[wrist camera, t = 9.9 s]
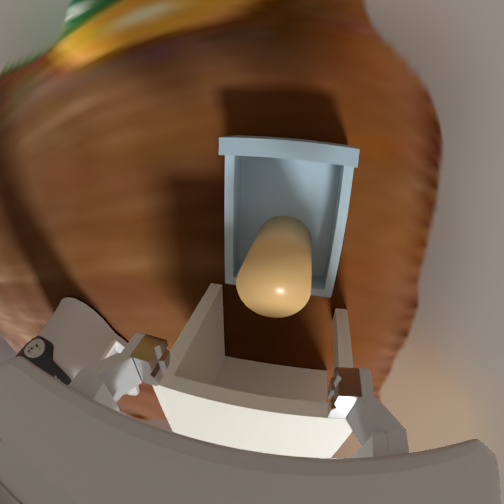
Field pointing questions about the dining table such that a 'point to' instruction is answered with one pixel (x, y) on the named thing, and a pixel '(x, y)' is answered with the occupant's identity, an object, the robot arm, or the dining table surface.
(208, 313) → the white open box
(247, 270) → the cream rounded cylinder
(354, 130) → the dining table surface
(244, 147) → the tray
